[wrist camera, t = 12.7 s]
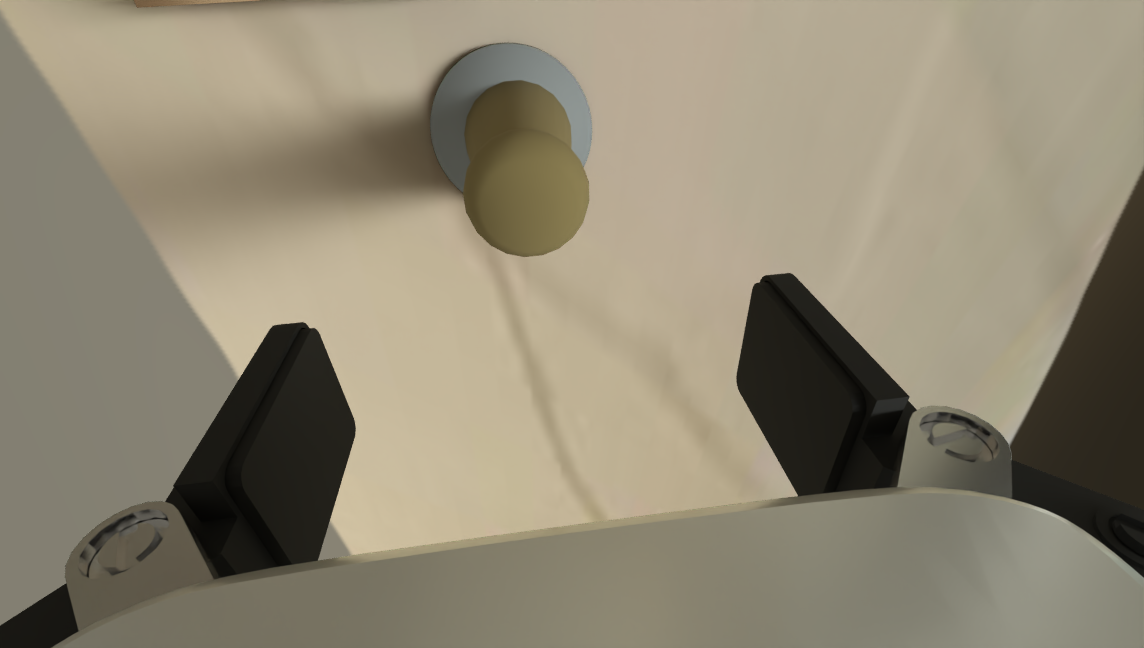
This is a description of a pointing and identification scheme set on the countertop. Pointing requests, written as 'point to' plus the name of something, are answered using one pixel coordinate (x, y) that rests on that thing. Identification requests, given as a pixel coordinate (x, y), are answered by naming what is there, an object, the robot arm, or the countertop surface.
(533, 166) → the cork
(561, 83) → the coaster
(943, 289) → the countertop surface
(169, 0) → the socket ring
